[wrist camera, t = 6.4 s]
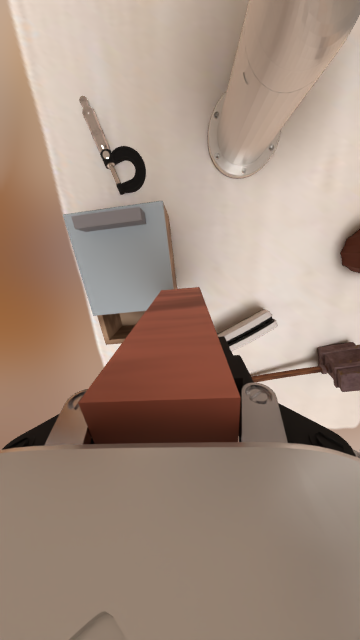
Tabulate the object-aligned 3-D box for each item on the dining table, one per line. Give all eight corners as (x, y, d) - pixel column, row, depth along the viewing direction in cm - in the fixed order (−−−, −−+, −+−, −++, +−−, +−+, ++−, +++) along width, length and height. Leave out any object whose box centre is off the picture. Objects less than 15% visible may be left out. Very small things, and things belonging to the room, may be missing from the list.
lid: (67, 216, 27) (48, 209, 24) (163, 202, 26) (159, 193, 23) (96, 314, 33) (84, 321, 29) (175, 306, 32) (174, 312, 28)
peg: (161, 290, 22) (78, 402, 5) (199, 287, 22) (240, 397, 5) (165, 325, 24) (114, 491, 7) (201, 322, 23) (235, 492, 7)
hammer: (355, 361, 44) (390, 391, 35) (230, 378, 55) (232, 404, 46) (355, 340, 42) (391, 365, 33) (225, 361, 53) (226, 385, 44)
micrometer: (152, 184, 34) (149, 178, 31) (121, 200, 35) (116, 195, 32) (116, 86, 29) (110, 71, 27) (81, 108, 30) (72, 95, 28)
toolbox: (95, 226, 36) (68, 216, 28) (168, 216, 35) (163, 203, 27) (121, 328, 44) (105, 344, 36) (180, 322, 43) (179, 338, 35)
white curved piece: (215, 354, 46) (215, 366, 37) (206, 339, 47) (204, 347, 37) (273, 324, 43) (289, 328, 33) (263, 308, 43) (277, 308, 33)
